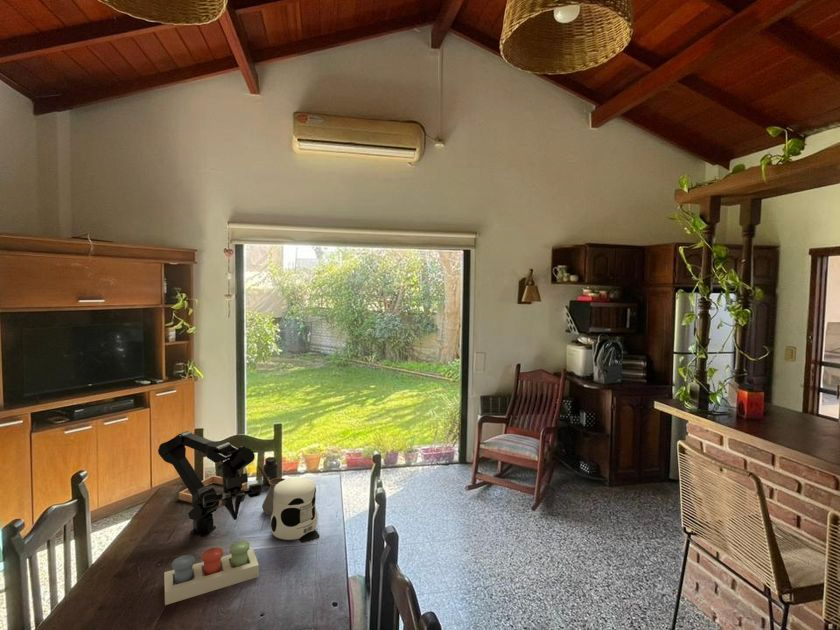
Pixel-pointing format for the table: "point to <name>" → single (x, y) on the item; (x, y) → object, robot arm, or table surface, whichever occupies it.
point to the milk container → (294, 509)
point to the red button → (212, 561)
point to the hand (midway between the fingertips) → (235, 519)
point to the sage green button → (239, 553)
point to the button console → (209, 578)
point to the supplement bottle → (270, 470)
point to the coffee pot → (269, 493)
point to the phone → (310, 537)
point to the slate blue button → (183, 568)
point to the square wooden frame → (186, 494)
